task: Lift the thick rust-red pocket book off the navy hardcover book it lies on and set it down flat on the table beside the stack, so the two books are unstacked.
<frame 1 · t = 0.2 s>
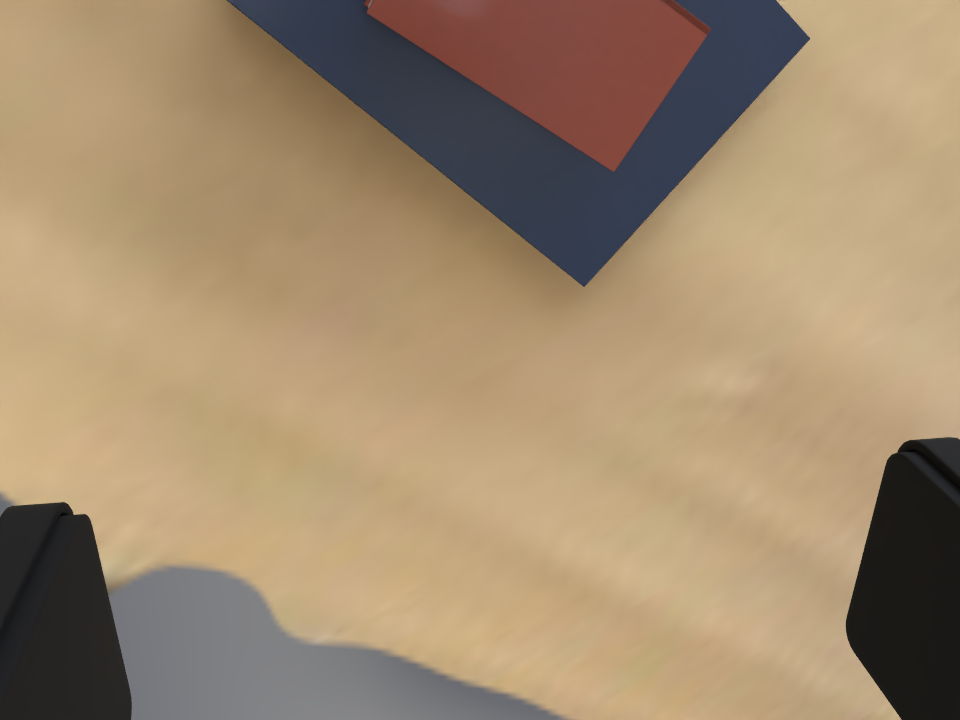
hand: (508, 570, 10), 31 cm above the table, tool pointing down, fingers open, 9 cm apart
pocket book: (525, 11, 35), point 3 cm above the table, touching hardcover book
hardcover book: (513, 6, 37), on the table, touching pocket book
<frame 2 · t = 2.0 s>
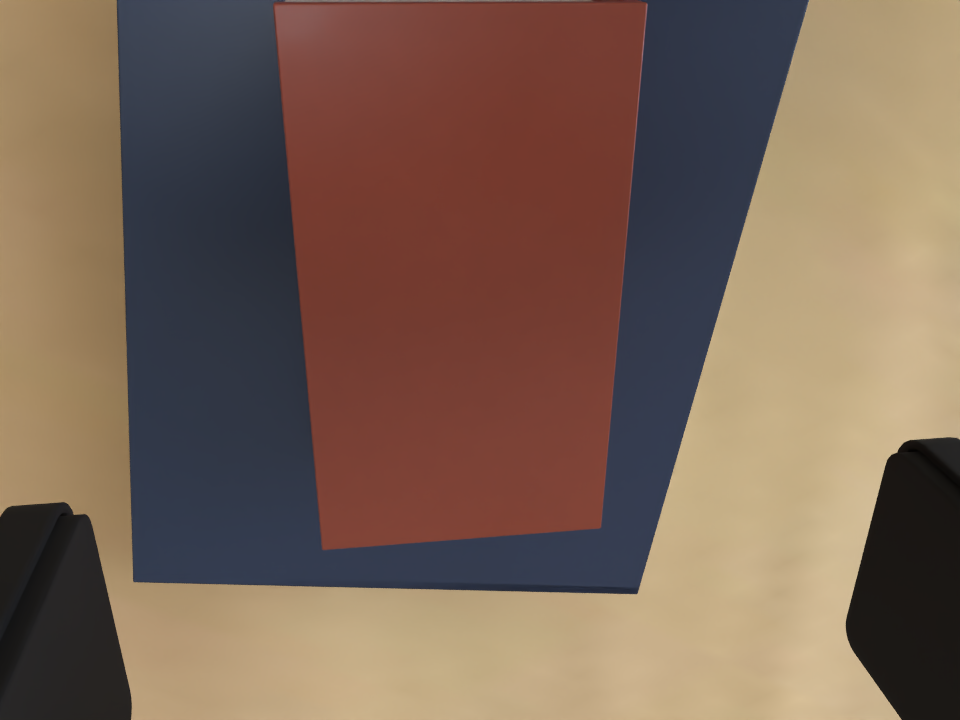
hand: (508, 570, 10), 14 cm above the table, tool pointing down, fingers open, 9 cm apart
pocket book: (446, 248, 20), point 3 cm above the table, touching hardcover book
hardcover book: (435, 213, 22), on the table, touching pocket book
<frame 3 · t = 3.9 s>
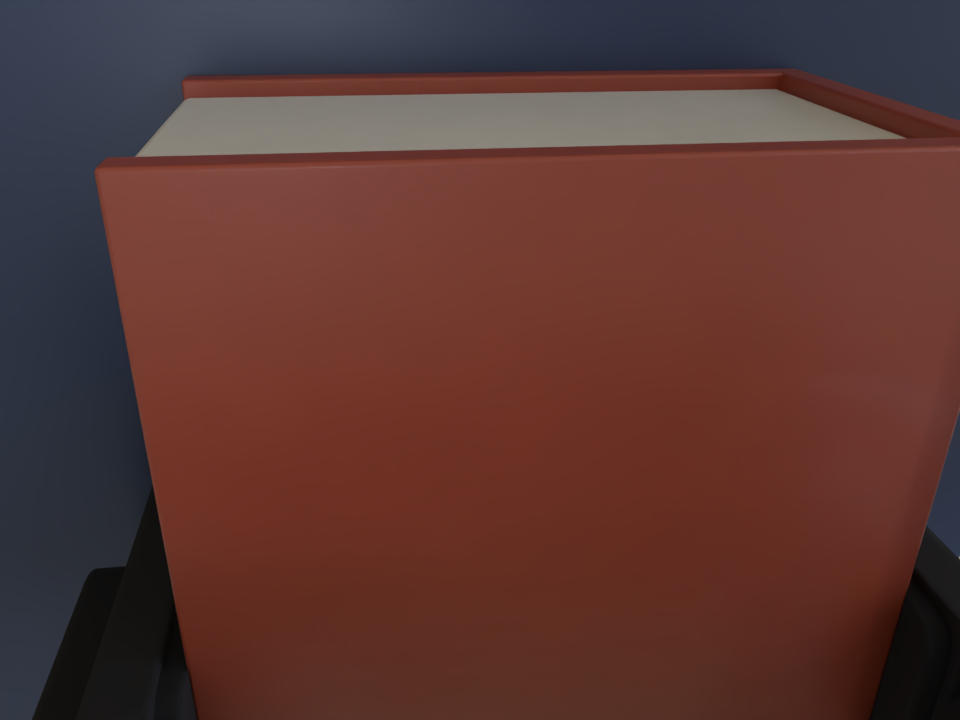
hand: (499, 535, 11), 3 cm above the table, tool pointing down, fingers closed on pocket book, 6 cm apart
pocket book: (495, 518, 11), point 3 cm above the table, touching gripper, hardcover book
hardcover book: (468, 417, 14), on the table, touching pocket book
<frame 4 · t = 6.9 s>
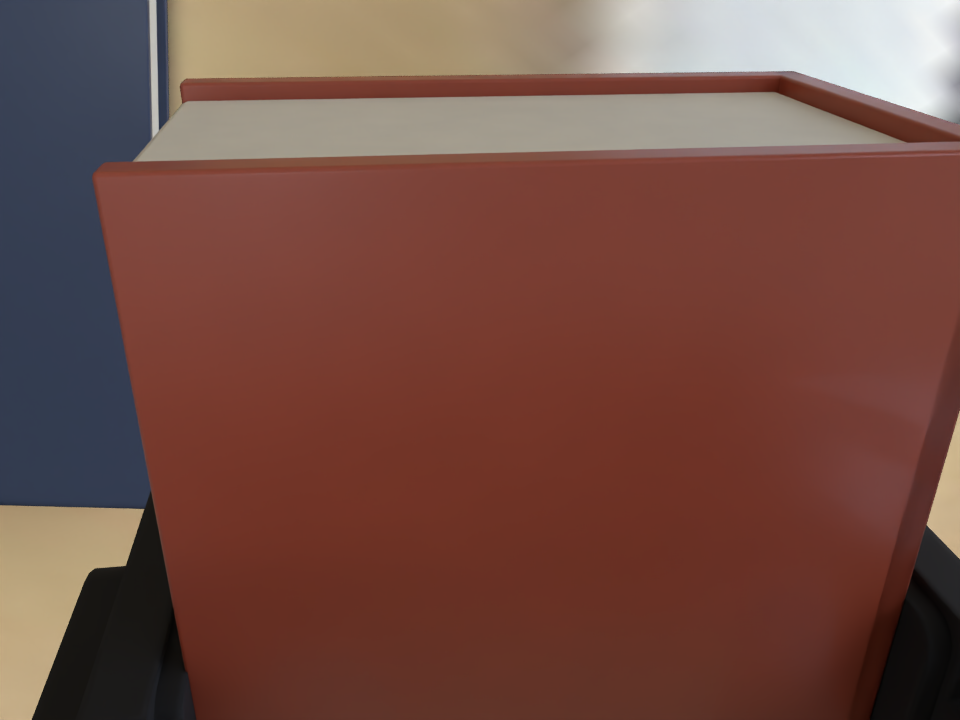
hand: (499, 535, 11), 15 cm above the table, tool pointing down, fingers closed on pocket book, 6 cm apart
pocket book: (494, 521, 11), point 15 cm above the table, touching gripper
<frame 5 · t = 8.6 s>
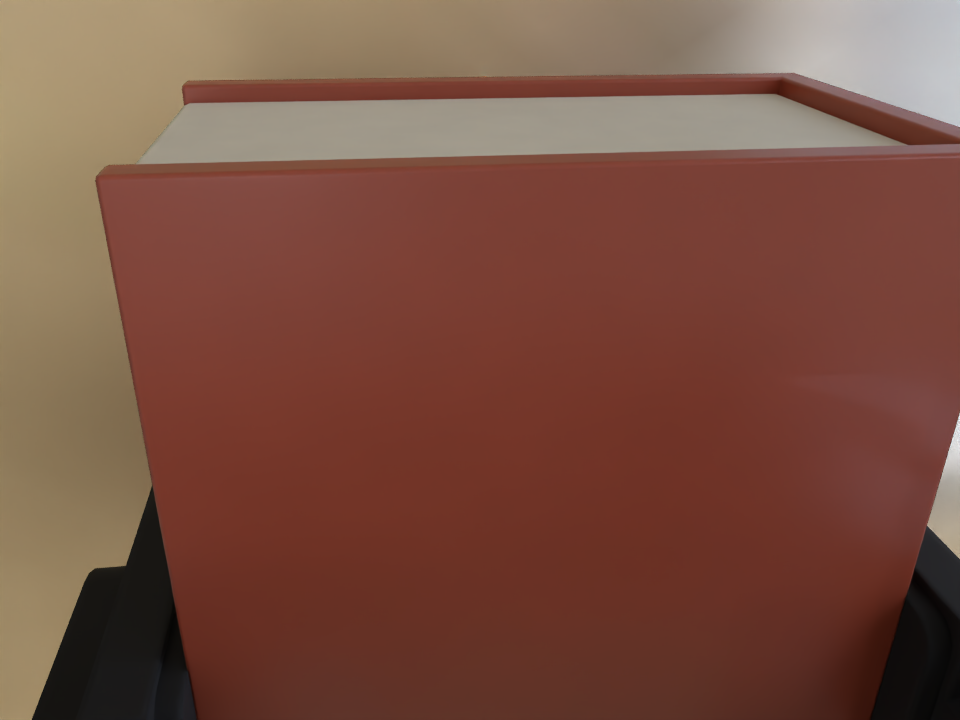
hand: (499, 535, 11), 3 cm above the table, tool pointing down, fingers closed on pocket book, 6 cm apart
pocket book: (495, 522, 11), point 3 cm above the table, touching gripper
when the fingers open (0 cm above the table, at t = 9.9 s): pocket book stays where it is, on the table.
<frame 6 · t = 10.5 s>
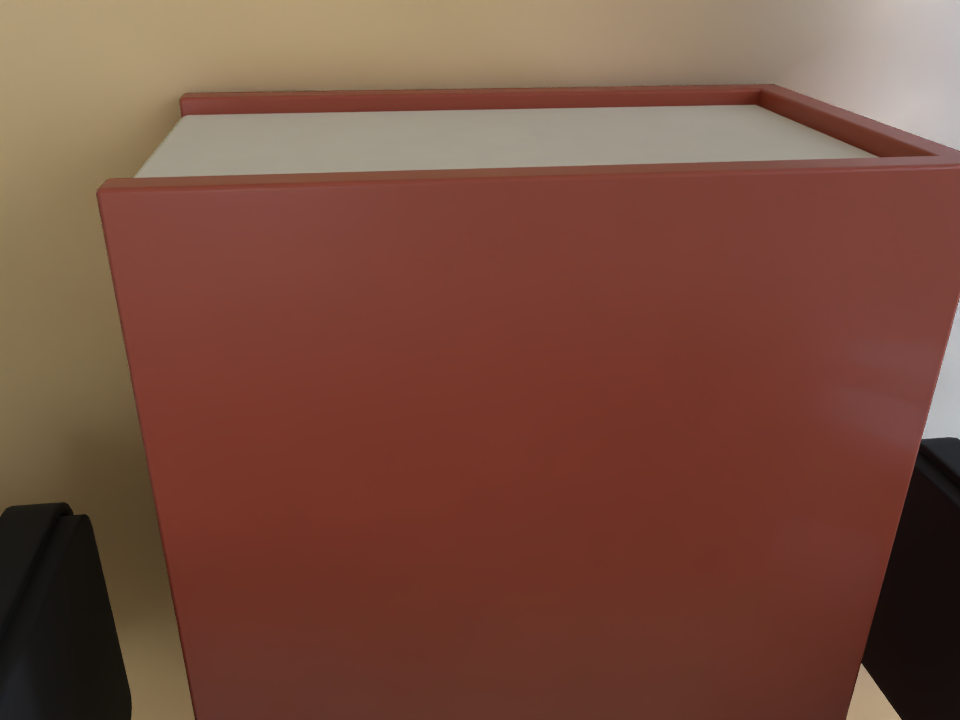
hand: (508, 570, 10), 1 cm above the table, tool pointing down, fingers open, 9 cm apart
pocket book: (486, 521, 12), on the table
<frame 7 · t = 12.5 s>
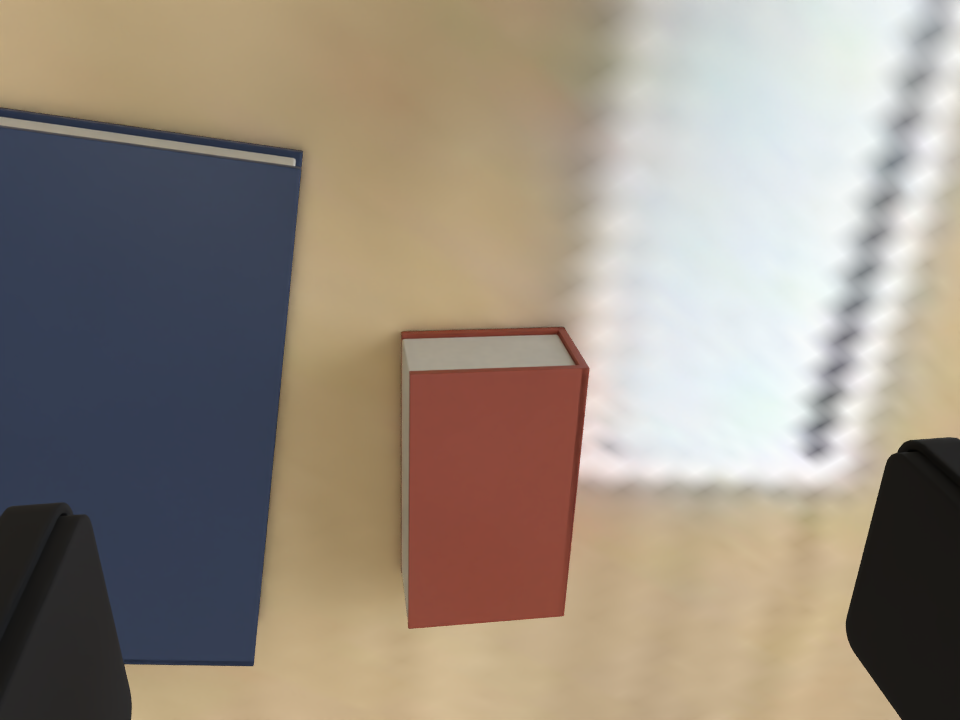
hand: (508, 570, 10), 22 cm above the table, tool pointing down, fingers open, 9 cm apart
pocket book: (478, 454, 35), on the table
hardcover book: (78, 398, 32), on the table
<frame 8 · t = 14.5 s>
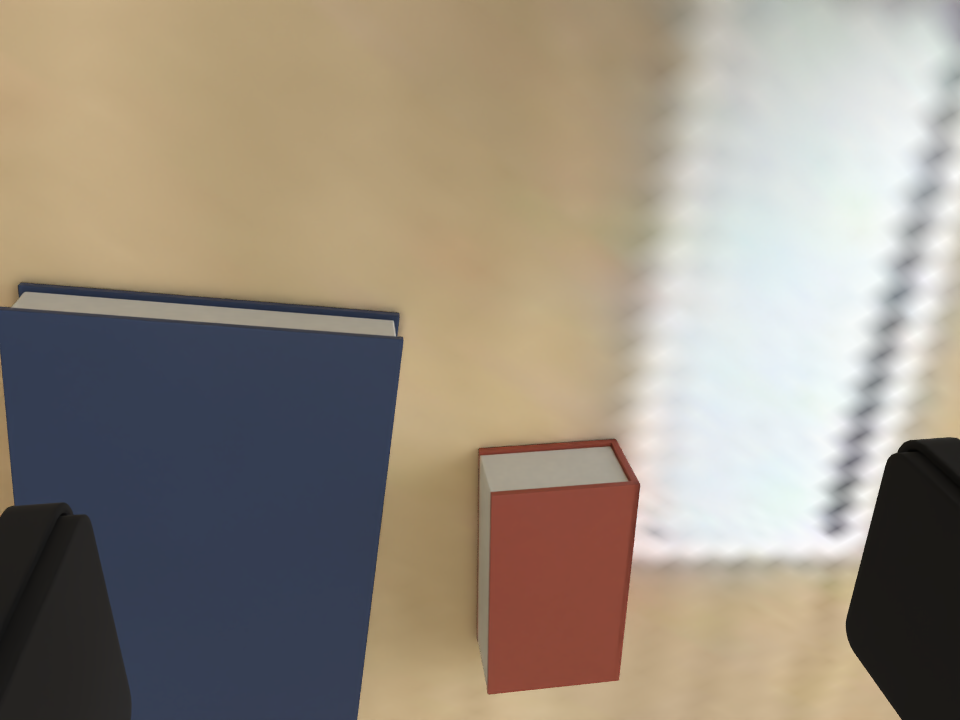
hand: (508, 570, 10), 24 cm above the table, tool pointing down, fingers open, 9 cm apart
pocket book: (542, 543, 41), on the table
hardcover book: (212, 512, 38), on the table
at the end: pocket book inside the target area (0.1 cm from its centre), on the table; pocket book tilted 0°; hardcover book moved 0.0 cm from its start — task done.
